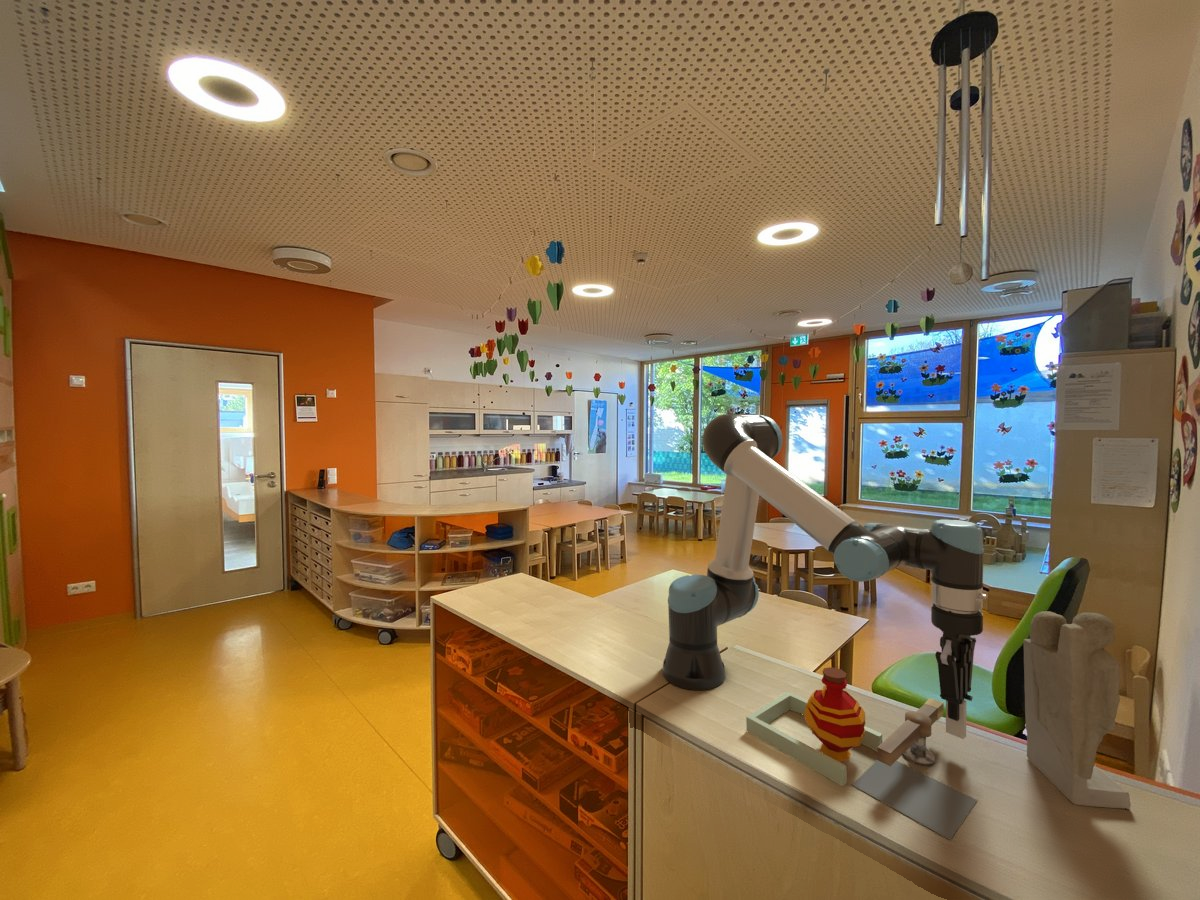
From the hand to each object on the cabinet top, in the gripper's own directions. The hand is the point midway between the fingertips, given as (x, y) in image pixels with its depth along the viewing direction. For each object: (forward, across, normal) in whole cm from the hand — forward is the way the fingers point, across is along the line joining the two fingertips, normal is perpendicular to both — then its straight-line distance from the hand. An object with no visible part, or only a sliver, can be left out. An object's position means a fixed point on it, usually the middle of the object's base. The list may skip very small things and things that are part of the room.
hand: (955, 733), depth 88 cm
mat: (+4, -16, +1) cm, 17 cm away
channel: (+4, -16, +18) cm, 25 cm away
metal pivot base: (+4, -6, +4) cm, 8 cm away
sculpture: (+4, +6, -15) cm, 17 cm away
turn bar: (-1, -8, +4) cm, 9 cm away
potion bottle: (+4, -16, +14) cm, 22 cm away
